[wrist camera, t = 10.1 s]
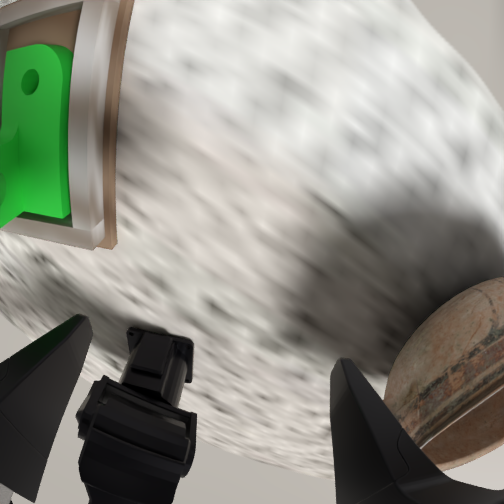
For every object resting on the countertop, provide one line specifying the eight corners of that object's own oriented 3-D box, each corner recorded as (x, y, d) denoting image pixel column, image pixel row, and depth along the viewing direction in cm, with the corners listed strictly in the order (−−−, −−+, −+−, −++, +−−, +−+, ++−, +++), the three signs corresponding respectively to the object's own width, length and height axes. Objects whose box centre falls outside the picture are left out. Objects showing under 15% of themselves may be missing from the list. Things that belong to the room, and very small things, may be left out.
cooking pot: (345, 404, 31) (356, 498, 21) (325, 279, 23) (355, 426, 12) (517, 346, 27) (553, 415, 16) (554, 216, 18) (630, 287, 7)
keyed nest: (117, 243, 22) (100, 263, 19) (6, 221, 22) (-14, 236, 19) (140, -26, 12) (121, -39, 9) (8, 8, 12) (-16, 7, 9)
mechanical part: (77, 207, 20) (9, 265, 13) (22, 198, 19) (-44, 246, 12) (85, 40, 14) (-3, 34, 7) (24, 50, 13) (-58, 59, 6)
